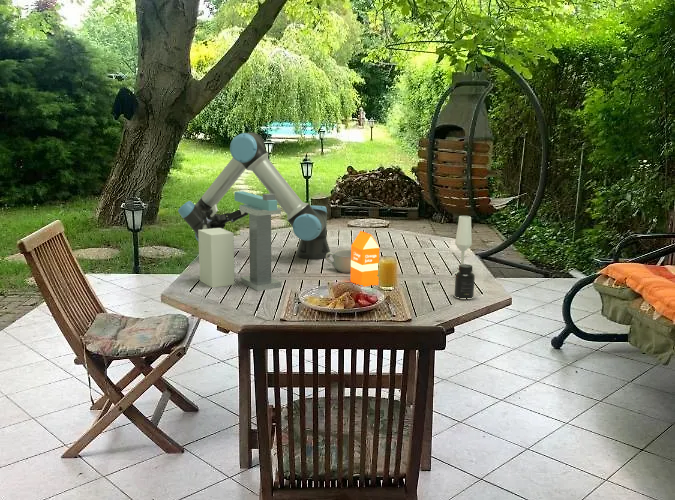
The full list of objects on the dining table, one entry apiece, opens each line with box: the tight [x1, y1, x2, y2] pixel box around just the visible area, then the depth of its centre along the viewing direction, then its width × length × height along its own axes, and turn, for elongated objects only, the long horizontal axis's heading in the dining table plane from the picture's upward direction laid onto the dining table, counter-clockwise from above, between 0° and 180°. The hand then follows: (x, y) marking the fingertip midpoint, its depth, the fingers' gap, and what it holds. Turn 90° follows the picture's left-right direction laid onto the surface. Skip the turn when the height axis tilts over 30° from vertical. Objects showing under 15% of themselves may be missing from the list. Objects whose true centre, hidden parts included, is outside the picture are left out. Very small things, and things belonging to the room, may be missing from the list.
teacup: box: [325, 248, 351, 274], centre depth 268 cm, size 14×11×8 cm
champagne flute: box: [454, 215, 473, 273], centre depth 264 cm, size 7×7×24 cm
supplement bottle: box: [453, 263, 476, 299], centre depth 232 cm, size 7×7×12 cm
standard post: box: [238, 204, 282, 292], centre depth 242 cm, size 14×10×30 cm
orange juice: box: [350, 230, 380, 287], centre depth 248 cm, size 8×9×20 cm
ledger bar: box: [234, 190, 278, 211], centre depth 241 cm, size 28×4×6 cm, turn 34°
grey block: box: [198, 228, 235, 289], centre depth 245 cm, size 12×9×20 cm
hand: (232, 206), depth 259 cm, fingers open, 13 cm apart
